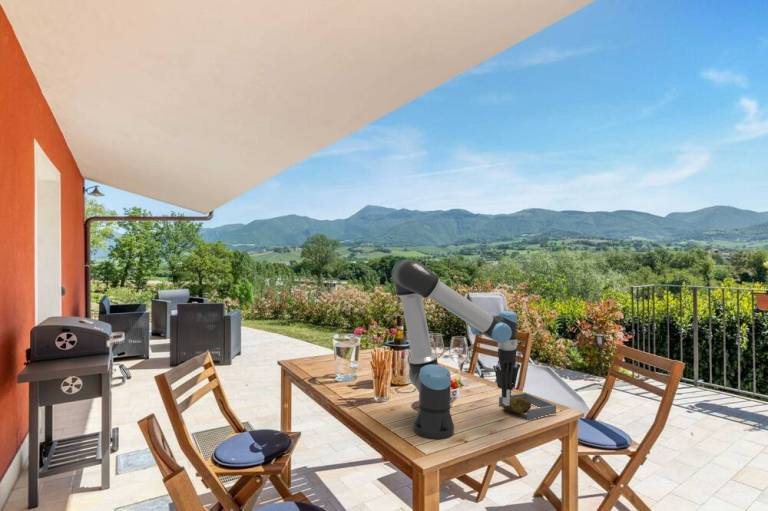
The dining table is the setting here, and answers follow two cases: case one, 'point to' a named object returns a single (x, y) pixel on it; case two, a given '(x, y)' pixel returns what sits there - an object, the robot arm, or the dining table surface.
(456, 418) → the dining table surface
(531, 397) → the box
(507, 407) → the potato
